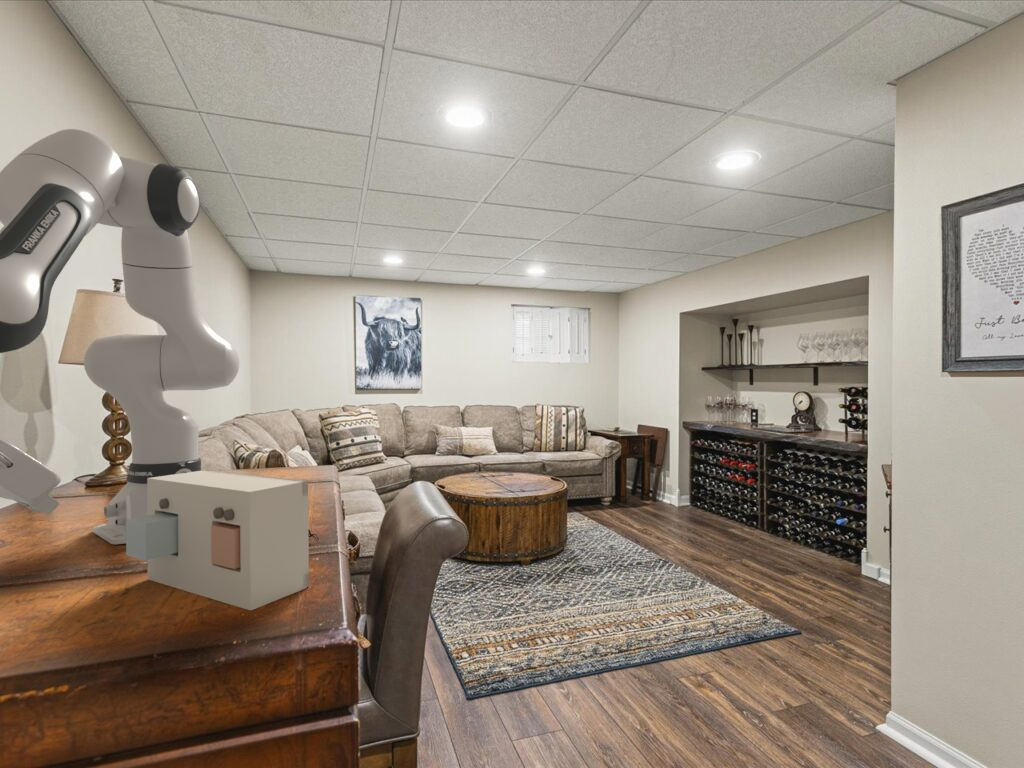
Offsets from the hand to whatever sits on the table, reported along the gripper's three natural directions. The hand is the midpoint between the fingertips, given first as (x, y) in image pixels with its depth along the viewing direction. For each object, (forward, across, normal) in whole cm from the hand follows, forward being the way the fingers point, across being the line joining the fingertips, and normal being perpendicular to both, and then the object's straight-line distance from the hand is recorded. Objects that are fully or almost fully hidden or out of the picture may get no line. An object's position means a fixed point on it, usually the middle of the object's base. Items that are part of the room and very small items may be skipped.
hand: (49, 508), depth 65 cm
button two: (+18, -14, -6) cm, 24 cm away
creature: (+36, +1, -16) cm, 39 cm away
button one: (+16, 0, -3) cm, 16 cm away
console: (+22, -7, -3) cm, 24 cm away
